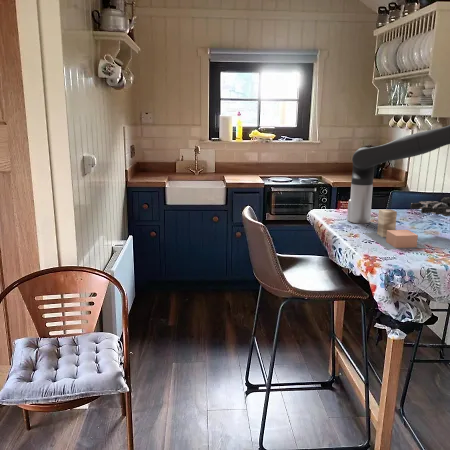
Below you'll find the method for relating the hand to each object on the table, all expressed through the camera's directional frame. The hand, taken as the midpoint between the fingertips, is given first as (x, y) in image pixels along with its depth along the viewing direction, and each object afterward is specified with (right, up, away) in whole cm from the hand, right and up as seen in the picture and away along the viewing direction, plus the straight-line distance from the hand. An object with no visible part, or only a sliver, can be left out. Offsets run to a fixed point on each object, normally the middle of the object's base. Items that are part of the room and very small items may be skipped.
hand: (416, 208), depth 180 cm
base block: (-10, -14, -11) cm, 20 cm away
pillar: (-11, -11, +2) cm, 16 cm away
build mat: (-11, -13, -5) cm, 18 cm away
